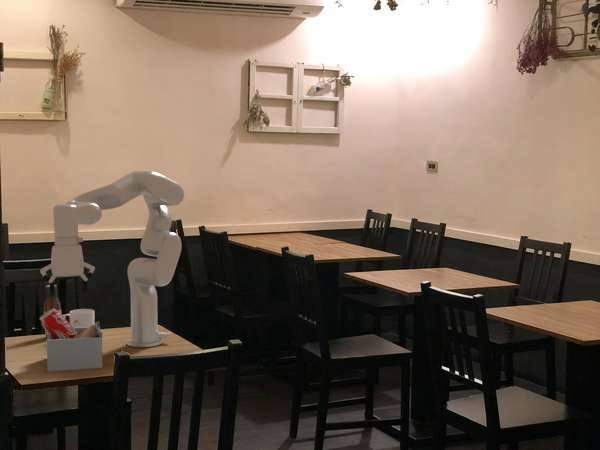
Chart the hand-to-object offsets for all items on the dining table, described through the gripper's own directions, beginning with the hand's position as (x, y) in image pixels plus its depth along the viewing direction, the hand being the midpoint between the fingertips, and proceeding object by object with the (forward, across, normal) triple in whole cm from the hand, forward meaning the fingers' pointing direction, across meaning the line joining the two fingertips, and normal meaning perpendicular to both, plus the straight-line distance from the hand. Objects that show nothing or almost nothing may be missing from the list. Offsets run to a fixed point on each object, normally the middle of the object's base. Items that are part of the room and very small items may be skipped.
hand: (68, 293), depth 262 cm
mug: (+24, -3, -33) cm, 41 cm away
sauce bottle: (+24, +6, -41) cm, 48 cm away
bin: (+23, -1, +1) cm, 23 cm away
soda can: (+16, 0, +1) cm, 16 cm away
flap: (+16, -2, +1) cm, 16 cm away
